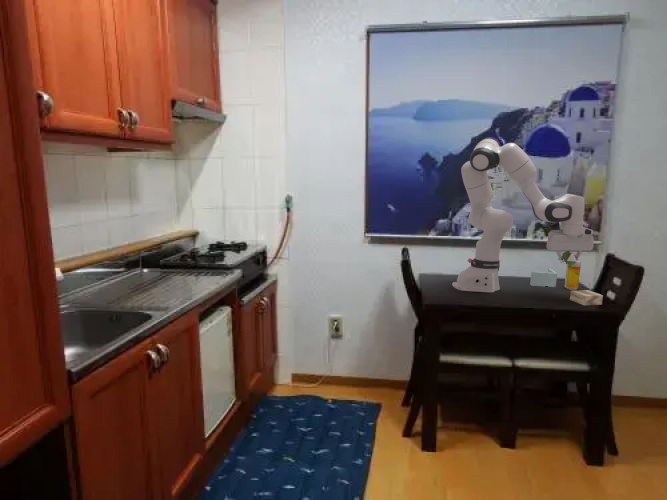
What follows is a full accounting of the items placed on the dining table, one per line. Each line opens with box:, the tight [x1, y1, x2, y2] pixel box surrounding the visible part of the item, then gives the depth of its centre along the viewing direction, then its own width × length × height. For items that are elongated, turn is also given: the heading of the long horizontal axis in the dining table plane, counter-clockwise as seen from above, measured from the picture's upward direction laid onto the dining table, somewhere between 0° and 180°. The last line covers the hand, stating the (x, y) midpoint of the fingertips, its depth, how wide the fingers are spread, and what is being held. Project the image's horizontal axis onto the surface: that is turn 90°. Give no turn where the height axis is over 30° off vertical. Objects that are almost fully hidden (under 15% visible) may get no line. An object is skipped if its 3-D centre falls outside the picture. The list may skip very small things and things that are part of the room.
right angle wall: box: [529, 268, 558, 288], centre depth 246 cm, size 12×12×8 cm
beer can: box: [564, 258, 582, 291], centre depth 237 cm, size 6×6×15 cm
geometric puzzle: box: [560, 251, 578, 267], centre depth 216 cm, size 7×7×8 cm
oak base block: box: [569, 289, 604, 306], centre depth 213 cm, size 9×9×4 cm
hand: (568, 260), depth 217 cm, fingers closed on geometric puzzle, 6 cm apart
